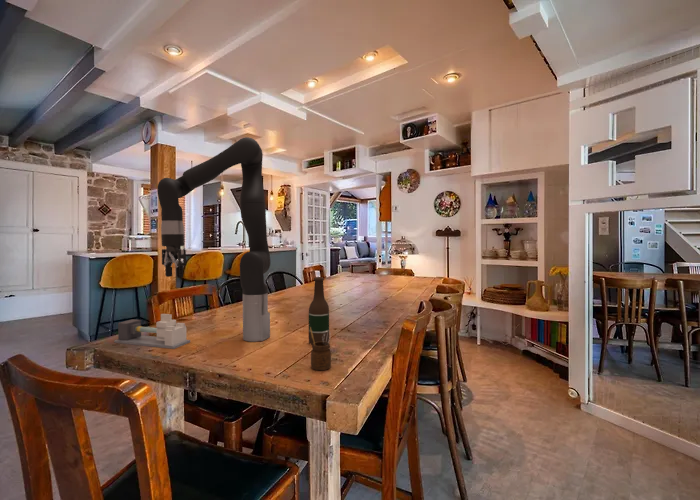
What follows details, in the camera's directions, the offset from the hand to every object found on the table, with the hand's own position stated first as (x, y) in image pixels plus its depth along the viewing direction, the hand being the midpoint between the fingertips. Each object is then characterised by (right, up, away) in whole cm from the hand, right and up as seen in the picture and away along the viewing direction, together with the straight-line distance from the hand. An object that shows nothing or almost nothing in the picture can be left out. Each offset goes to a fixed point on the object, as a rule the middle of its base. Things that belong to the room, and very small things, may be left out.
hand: (174, 277), depth 128 cm
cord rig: (-7, -24, -2) cm, 25 cm away
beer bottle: (+54, -24, -1) cm, 59 cm away
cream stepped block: (-1, -22, -4) cm, 22 cm away
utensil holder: (+57, -25, -26) cm, 67 cm away
